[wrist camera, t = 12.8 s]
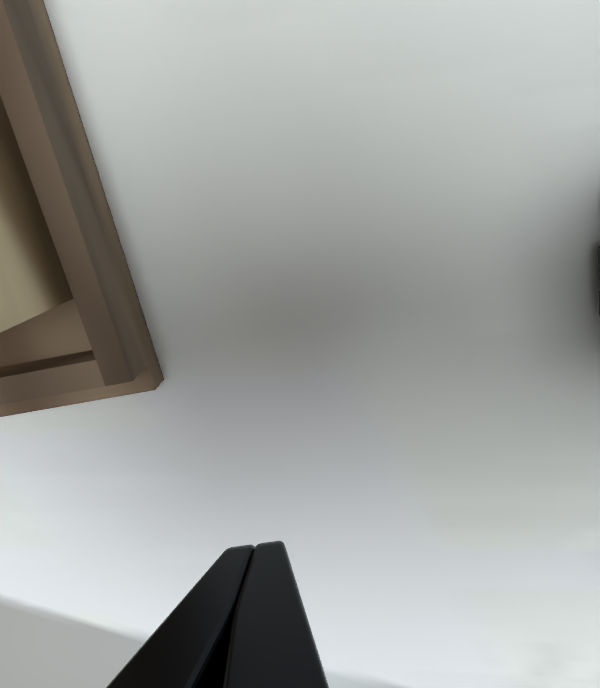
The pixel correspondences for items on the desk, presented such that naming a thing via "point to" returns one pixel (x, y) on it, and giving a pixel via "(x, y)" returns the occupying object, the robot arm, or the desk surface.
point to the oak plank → (24, 241)
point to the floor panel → (66, 241)
